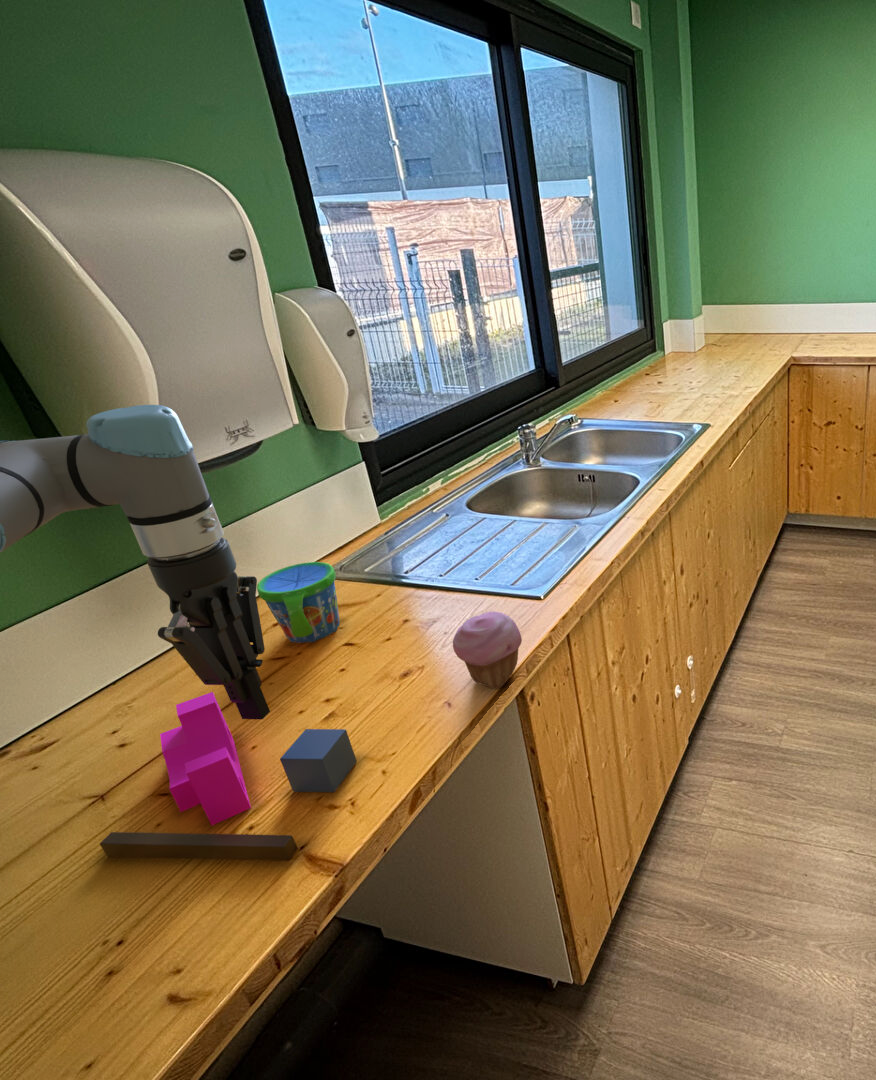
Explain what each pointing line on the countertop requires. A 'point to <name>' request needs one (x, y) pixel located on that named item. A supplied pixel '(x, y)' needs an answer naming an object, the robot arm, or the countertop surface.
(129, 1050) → the countertop surface
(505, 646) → the cupcake
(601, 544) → the countertop surface
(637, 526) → the countertop surface
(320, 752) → the cube
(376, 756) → the countertop surface
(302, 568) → the snack cup
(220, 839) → the straightedge
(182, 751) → the toy block
